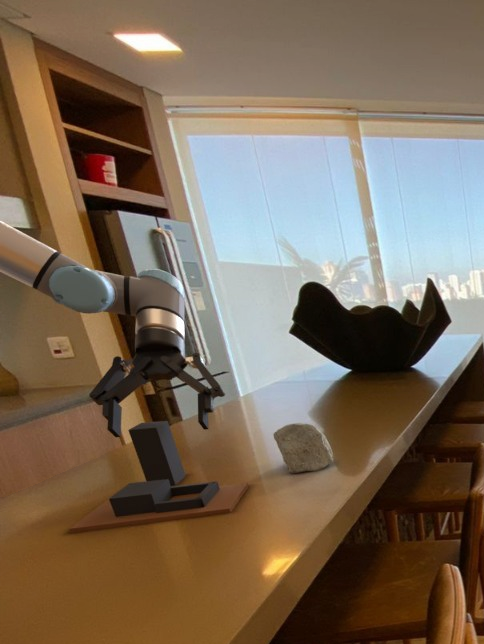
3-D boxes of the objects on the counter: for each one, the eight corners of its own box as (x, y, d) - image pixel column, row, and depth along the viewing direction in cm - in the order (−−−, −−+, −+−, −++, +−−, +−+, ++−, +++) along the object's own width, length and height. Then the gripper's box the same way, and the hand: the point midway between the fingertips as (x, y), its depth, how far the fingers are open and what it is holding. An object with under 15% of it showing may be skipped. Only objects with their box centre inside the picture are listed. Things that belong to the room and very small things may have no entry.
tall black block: (149, 489, 102) (128, 429, 98) (160, 479, 107) (141, 422, 103) (176, 486, 103) (156, 427, 99) (186, 477, 108) (167, 420, 104)
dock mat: (71, 535, 83) (60, 509, 82) (111, 503, 95) (102, 481, 94) (231, 514, 90) (223, 490, 89) (249, 487, 102) (243, 466, 101)
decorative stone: (322, 476, 107) (338, 428, 110) (257, 461, 104) (275, 411, 106) (330, 490, 119) (344, 446, 121) (272, 476, 115) (288, 431, 118)
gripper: (240, 348, 120) (245, 433, 113) (92, 355, 111) (86, 447, 104) (227, 323, 113) (231, 411, 106) (68, 328, 104) (61, 425, 97)
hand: (159, 429), depth 105 cm, fingers open, 13 cm apart
